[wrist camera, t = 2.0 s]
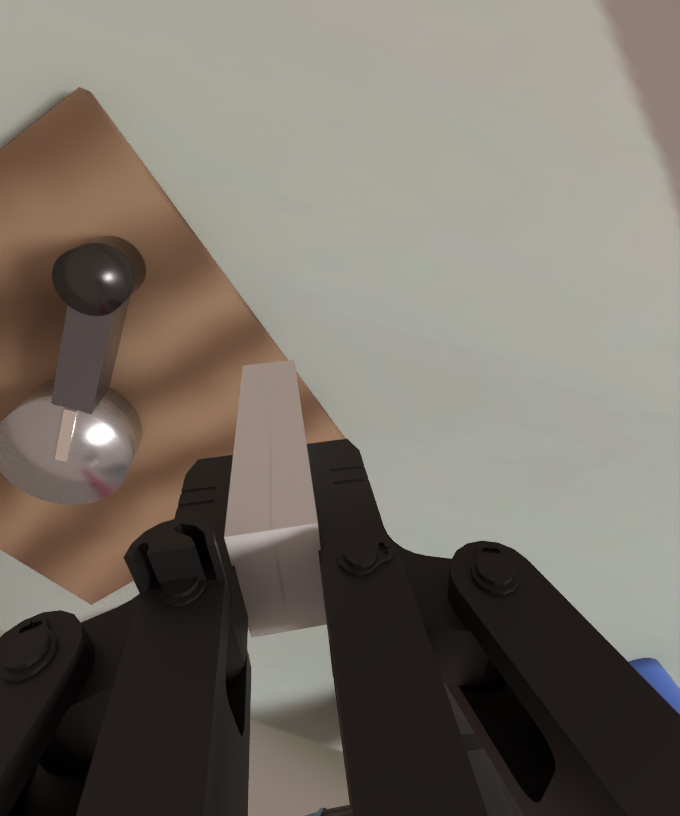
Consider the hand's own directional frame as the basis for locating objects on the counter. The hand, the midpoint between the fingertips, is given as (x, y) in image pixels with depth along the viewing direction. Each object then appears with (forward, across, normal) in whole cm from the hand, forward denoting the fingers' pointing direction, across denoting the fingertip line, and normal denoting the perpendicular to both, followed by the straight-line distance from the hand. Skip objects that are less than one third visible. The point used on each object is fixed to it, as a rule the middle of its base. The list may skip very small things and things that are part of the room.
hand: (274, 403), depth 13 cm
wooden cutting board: (+16, +13, +8) cm, 22 cm away
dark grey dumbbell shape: (+14, +11, +4) cm, 18 cm away
